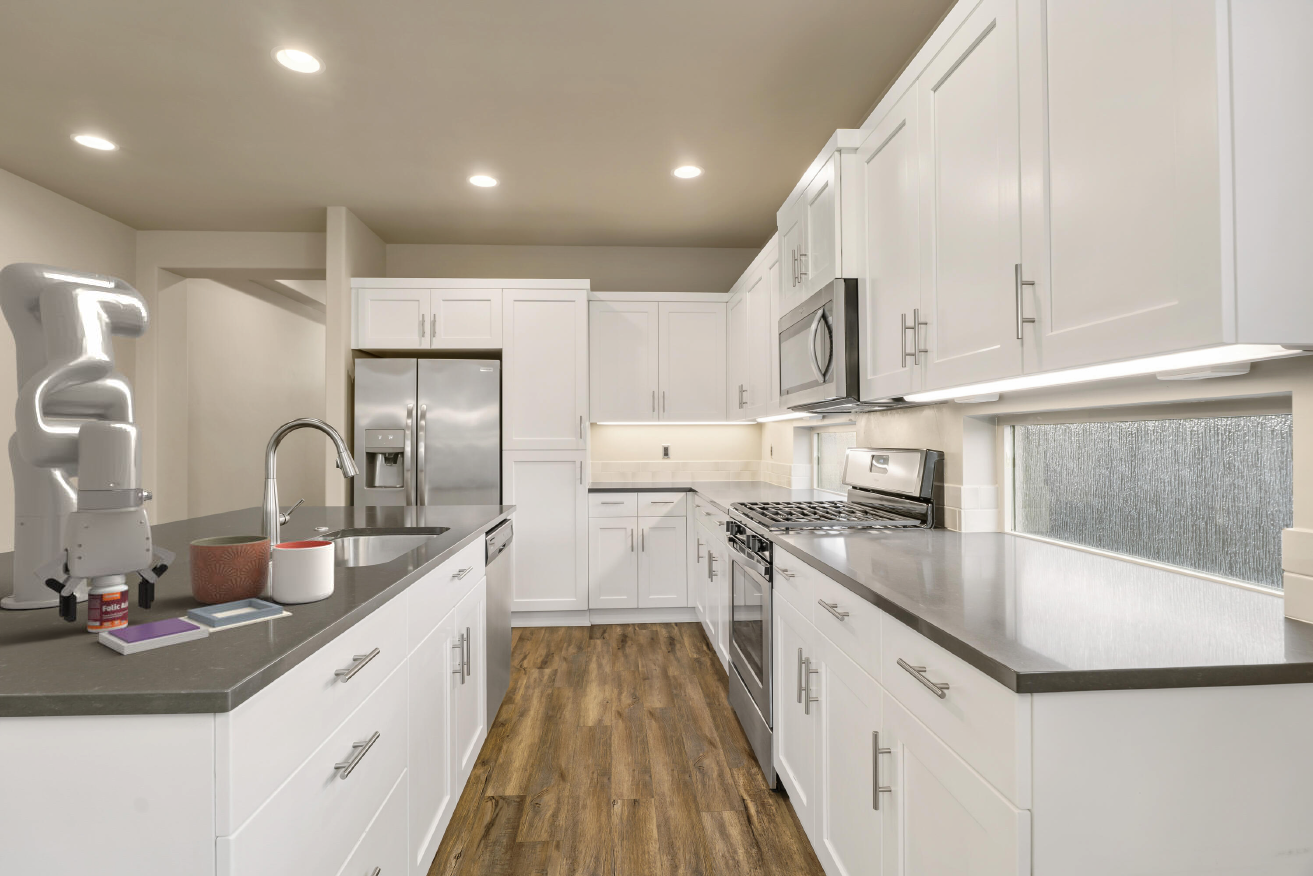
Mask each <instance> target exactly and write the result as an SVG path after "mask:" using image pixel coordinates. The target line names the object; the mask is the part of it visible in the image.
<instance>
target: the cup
mask: <svg viewBox="0 0 1313 876" xmlns="http://www.w3.org/2000/svg"><path fill="white" fill-rule="evenodd" d="M271 549H272V550H271V551H272V555H271V556H272V557H271V560H272V561H271V564H272V565H271V596H272V599H273V600H274V601H275V602H278V603H281V604H290V605H293V604H294V605H297V604H308V603H314V602H318V601H321V600H325V599H327V598H329V597H331V595H332V594H333V593H334V590H335V542H333V541H332V540H331V541H329V540H300V541H299V540H298V541H288V542H281V543H278V544H274V545H273V546H272V548H271Z"/></svg>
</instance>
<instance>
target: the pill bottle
mask: <svg viewBox="0 0 1313 876" xmlns="http://www.w3.org/2000/svg"><path fill="white" fill-rule="evenodd" d="M90 579H91V581H90V583H91V587H92V588H90V589H89V591H88V600H87V624H86V625H87V632H90V633H94V634H95V633H98V634H99V633H103V632H108V631H110V630H115V629H120V628H126V627H128V623H129V622H128V621H129V586H128V585H127V584H126V580H127V574H119V575H112V576H104V577H96V578H90Z"/></svg>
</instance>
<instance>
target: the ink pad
mask: <svg viewBox="0 0 1313 876" xmlns="http://www.w3.org/2000/svg"><path fill="white" fill-rule="evenodd" d="M209 635H210V632H209V628H206V627H203V626H201V625H198V624H196V623H193V622H190V621H188V620H185V619H183V618H180V617H173V618H168V619H163V620H158V621H154V622H147V623H141V624H137V625H132V626H131V625H130V626H126V627H125V628H120V629H115V630H110V631H108V632H100V633H98V642H99V643H100V644H102V645H104V646H107V647H108V648H109V649H111V650H114V651H115V652H118V653H120V654H122V655H123V656H126V655H130V654H135V653H140V652H144V651H149V650H153V649H158V648H163V647H168V646H172V645H177V644H182V643H186V642H190V641H191V642H192V641H196V640H199V639H204V638H208V637H209Z"/></svg>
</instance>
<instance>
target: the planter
mask: <svg viewBox="0 0 1313 876" xmlns="http://www.w3.org/2000/svg"><path fill="white" fill-rule="evenodd" d="M188 546H189V548H188V550H189V577H190V588H191V592H192V595H193V597H194V598H193V599H195V600H196V601H197V602H199V603H201V604H206V605H219V604H224V603H229V602H235V601H240V600H246V599H251V598H256V599H257V598H258V597H260V596H261V595H262V594H263V593H264V592H265V590H266V588H267V585H268V579H269V574H270V573H269V572H270V561H271V560H270V558H271V537H270V536H267V535H261V534H239V535H238V534H237V535H235V534H234V535H224V536H223V535H222V536H213V537H212V536H211V537H204V538H199V539H196V540H195V539H194V540H193V541H190V542H189V543H188Z"/></svg>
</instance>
